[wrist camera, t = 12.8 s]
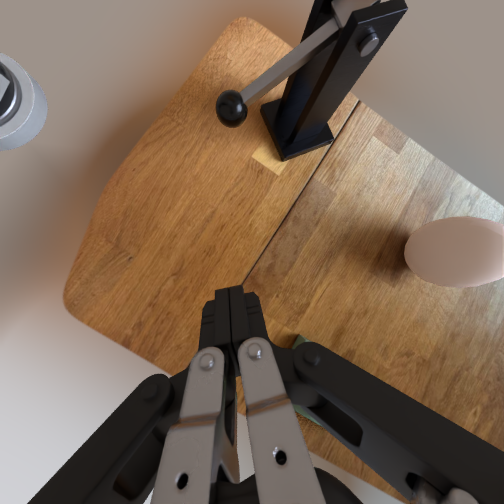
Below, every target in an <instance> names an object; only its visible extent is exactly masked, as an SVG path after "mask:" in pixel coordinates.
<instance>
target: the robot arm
mask: <svg viewBox="0 0 504 504" xmlns="http://www.w3.org/2000/svg"><path fill="white" fill-rule="evenodd" d="M21 101H22V90H21V86H20V83H19V81H18V79H17V77H16V76H15V75H14V73H13V72H12V71H11V70H10V69H9V68H7V67H6V66H5V65H4V64H3V63H2V62H1V61H0V126H2V125H4V124H6V123H7V122H9V121H10V120H11V119H12V118H13V117H14V116H15V114H16V113H17V112H18V110H19V108H20V105H21ZM237 376H241V378H242V384H243V390H244V397H245V403H246V419H247V426H248V432H249V438H250V445H251V451H252V457H253V463H254V469H255V474H253V475H252V476H250V477H249V478H247V479H245V480H244V481H242V482H240V474H239V461H238V454H237V392H236V377H237ZM292 404H293V405H299V406H300V407H301V408H302V409H303V410H304V411H305V412H306V413H307V414H309V415H310V416H311V417H312V418H313V419H314V420H316V421H317V422H318V423H319V424H320V425H321V426H323V427H324V428H325V429H326V430H327V431H328V432H330V433H331V434H332V435H333V436H334V437H335V438H337V439H338V440H339V441H340V442H341V443H342V444H344V445H345V446H346V447H347V448H348V449H349V450H351V451H352V452H353V453H354V454H355V455H356V456H358V457H359V458H360V459H361V460H362V461H363V462H365V463H366V464H367V465H368V466H369V467H370V468H371V469H373V470H374V471H375V472H376V473H377V474H378V475H380V476H381V477H382V478H383V479H384V480H385V481H387V482H388V483H389V484H390V485H391V486H392V487H394V488H395V489H396V490H397V491H398V492H399V493H401V494H402V495H403V496H404V497H405V498H406V499H408V500H409V501H410V504H504V452H503V451H501V450H499V449H498V448H496V447H494V446H493V445H491V444H489V443H487V442H486V441H484V440H482V439H481V438H479V437H477V436H476V435H474V434H472V433H470V432H469V431H467V430H465V429H464V428H462V427H460V426H458V425H457V424H455V423H453V422H452V421H450V420H448V419H447V418H445V417H443V416H441V415H440V414H438V413H436V412H435V411H433V410H431V409H429V408H428V407H426V406H424V405H423V404H421V403H419V402H417V401H416V400H414V399H412V398H411V397H409V396H407V395H406V394H404V393H402V392H400V391H399V390H397V389H395V388H394V387H392V386H390V385H388V384H387V383H385V382H383V381H382V380H380V379H378V378H377V377H375V376H373V375H371V374H370V373H368V372H366V371H365V370H363V369H361V368H359V367H358V366H356V365H354V364H353V363H351V362H349V361H347V360H346V359H344V358H342V357H341V356H339V355H337V354H336V353H334V352H332V351H330V350H329V349H327V348H325V347H324V346H322V345H320V344H318V343H315V342H303V343H301V344H299V345H298V346H297V347H296V348H295V349H287V348H281V347H278V346H276V345H275V344H273V343H272V342H271V341H270V339H269V337H268V334H267V330H266V326H265V321H264V317H263V313H262V309H261V305H260V300H259V297H258V296H257V295H256V294H255V293H254V292H249V293H245V294H244V289H243V285H237V286H232V287H228V288H223V289H218V290H215V300H211V301H207V303H206V304H205V306H204V308H203V311H202V320H201V329H200V339H199V348H198V353H197V354H196V355H195V356H194V357H193V359H192V361H191V364H190V366H189V367H188V368H186V369H185V370H183V371H182V372H180V373H178V374H176V375H174V376H172V377H170V378H168V377H167V376H166V375H164V374H155V375H152V376H150V377H148V378H146V379H145V380H144V381H142V382H141V383H140V384H139V385H138V387H137V388H136V389H135V390H134V391H133V392H132V393H131V394H130V395H129V396H128V397H127V398H126V399H125V400H124V402H122V404H121V405H120V406H119V407H118V408H117V409H116V410H115V411H114V412H113V413H112V414H111V415H110V416H109V417H108V418H107V419H106V420H105V422H104V423H103V424H102V425H101V426H100V427H99V428H98V429H97V430H96V431H95V432H94V433H93V434H92V435H91V436H90V438H89V439H88V440H87V441H86V442H85V443H84V444H83V445H82V446H81V447H80V448H79V449H78V450H77V451H76V452H75V453H74V454H73V456H72V457H71V458H70V459H69V460H68V461H67V462H66V463H65V464H64V465H63V466H62V467H61V468H60V469H59V470H58V471H57V473H56V474H55V475H54V476H53V477H52V478H51V479H50V480H49V481H48V482H47V483H46V484H45V485H44V486H43V487H42V488H41V490H40V491H39V492H38V493H37V494H36V495H35V496H34V497H33V498H32V499H31V500H30V501H29V502H28V503H27V504H143V503H144V502H145V500H146V499H147V497H148V495H149V494H150V493H151V491H152V490H153V488H154V490H153V495H152V499H151V503H150V504H363V503H362V502H361V501H360V500H359V499H358V498H357V497H356V496H355V495H354V494H353V493H352V492H351V490H350V489H349V488H347V487H346V486H345V485H344V484H343V483H342V482H341V481H339V480H338V479H337V478H336V477H334V476H333V475H331V474H329V473H328V472H326V471H324V470H322V469H320V468H316V467H313V464H312V461H311V458H310V455H309V452H308V449H307V446H306V443H305V440H304V437H303V434H302V431H301V429H300V426H299V423H298V420H297V417H296V414H295V411H294V408H293V405H292Z"/></svg>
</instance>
